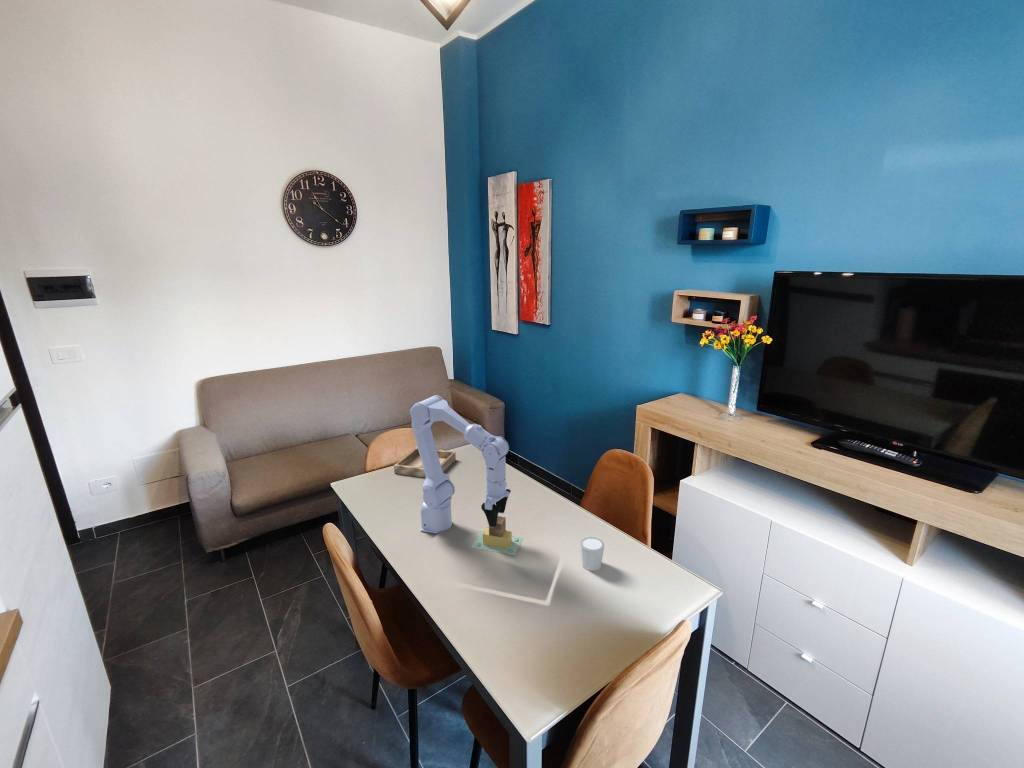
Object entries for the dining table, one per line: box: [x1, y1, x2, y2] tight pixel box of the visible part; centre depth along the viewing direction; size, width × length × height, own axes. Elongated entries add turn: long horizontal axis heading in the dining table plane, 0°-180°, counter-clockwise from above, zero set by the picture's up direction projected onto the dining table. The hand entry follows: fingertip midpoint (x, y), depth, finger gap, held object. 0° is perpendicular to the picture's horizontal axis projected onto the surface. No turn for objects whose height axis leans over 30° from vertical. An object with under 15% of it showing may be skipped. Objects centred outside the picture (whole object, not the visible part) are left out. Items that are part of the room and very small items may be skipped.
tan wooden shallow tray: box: [393, 446, 457, 479], centre depth 199 cm, size 19×19×4 cm
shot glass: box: [579, 536, 605, 572], centre depth 135 cm, size 7×7×7 cm
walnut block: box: [488, 515, 507, 537], centre depth 144 cm, size 4×4×4 cm
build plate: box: [470, 530, 524, 556], centre depth 145 cm, size 14×9×1 cm, turn 73°
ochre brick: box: [483, 526, 513, 549], centre depth 145 cm, size 8×4×4 cm, turn 73°
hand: (496, 518), depth 143 cm, fingers open, 7 cm apart
